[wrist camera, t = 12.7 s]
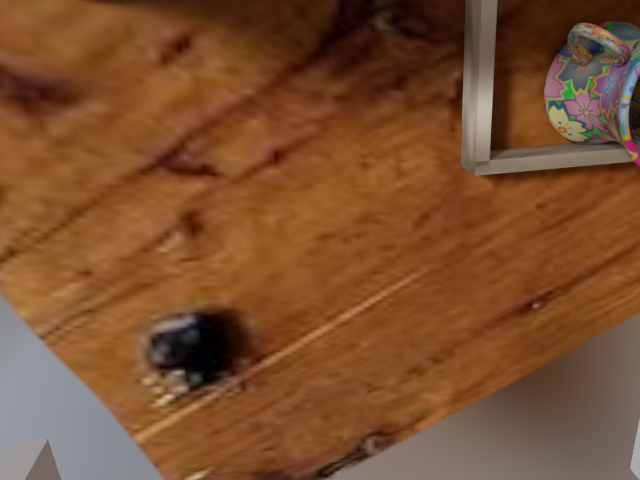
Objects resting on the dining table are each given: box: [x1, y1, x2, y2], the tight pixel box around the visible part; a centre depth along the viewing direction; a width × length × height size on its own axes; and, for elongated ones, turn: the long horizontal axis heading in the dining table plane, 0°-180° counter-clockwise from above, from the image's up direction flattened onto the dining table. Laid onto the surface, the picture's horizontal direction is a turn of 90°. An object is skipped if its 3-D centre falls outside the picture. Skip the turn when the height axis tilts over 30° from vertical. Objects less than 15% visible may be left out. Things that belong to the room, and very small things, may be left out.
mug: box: [544, 21, 640, 168], centre depth 33 cm, size 12×9×11 cm
